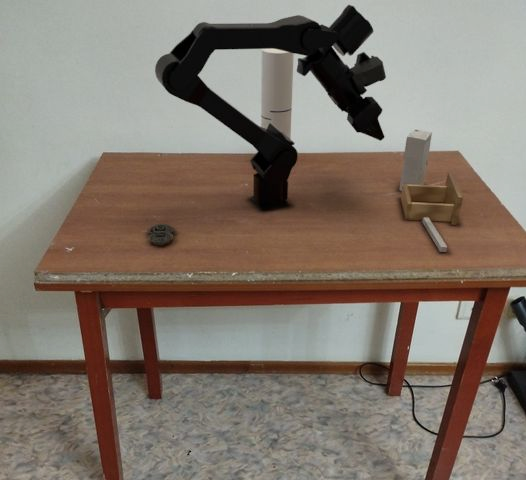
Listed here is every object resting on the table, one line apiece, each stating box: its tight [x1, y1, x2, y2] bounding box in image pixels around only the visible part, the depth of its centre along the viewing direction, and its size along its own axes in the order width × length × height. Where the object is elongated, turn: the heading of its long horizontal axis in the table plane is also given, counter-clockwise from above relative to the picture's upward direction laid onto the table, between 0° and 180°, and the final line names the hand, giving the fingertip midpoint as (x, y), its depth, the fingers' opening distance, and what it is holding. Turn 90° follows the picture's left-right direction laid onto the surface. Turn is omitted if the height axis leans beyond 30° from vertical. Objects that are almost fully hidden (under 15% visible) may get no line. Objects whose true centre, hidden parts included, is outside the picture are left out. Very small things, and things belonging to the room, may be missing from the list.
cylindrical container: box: [260, 49, 295, 139], centre depth 139 cm, size 7×7×25 cm
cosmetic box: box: [399, 129, 433, 192], centre depth 130 cm, size 6×4×12 cm
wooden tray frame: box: [400, 171, 464, 226], centre depth 123 cm, size 10×13×6 cm
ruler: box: [421, 217, 448, 253], centre depth 115 cm, size 12×1×1 cm, turn 4°
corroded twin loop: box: [147, 223, 175, 246], centre depth 114 cm, size 5×8×1 cm, turn 8°
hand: (375, 130), depth 125 cm, fingers open, 9 cm apart
